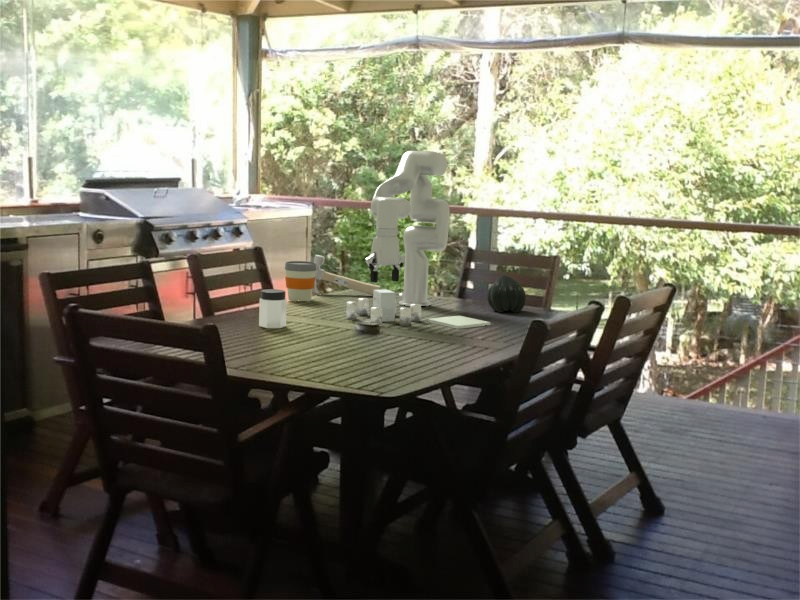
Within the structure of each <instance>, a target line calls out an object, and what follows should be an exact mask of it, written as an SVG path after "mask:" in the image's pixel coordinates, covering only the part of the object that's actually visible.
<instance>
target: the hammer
mask: <svg viewBox="0 0 800 600" xmlns="http://www.w3.org/2000/svg"><path fill="white" fill-rule="evenodd" d="M314 255H315V256H314V258H313V262H314V263H316V271H315V277H316V278H315V284H314V288H313V291H312V292H314V293H315V294H316V295H318V294H320V292H319V290H318V288H317V280H319V281H322V280H323V281H326V282H330V283H334V284H337V285H339V286H342V287H344V288H348V289H350V290H353V291H356V292H360V293H364V294H367V295H369V296H372V297H373V290H381V286H380V285H378V284H372V283H367V282H364V281H360V280H356V279H354V278H349V277H346V276H343V275H338V274H335V273H332V272H328V271H325V269H322V268H321V265H323V264H324V263H325V259H326V258H325V256H324V255H319V254H314Z"/></svg>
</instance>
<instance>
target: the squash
mask: <svg viewBox="0 0 800 600" xmlns="http://www.w3.org/2000/svg"><path fill="white" fill-rule="evenodd" d="M486 294H487V297H486V298H487V302H488V305H489V307H490V308H491V309H492V310H493V311H495V310H496V311H495V312H499V313H504V312H507V311H510V312H512V313H519V312H521V311H522V310H523V308H524V307H525V304H526V301H527V299H526V297H527V295H526V292H525V289H524V287H523V286H522V285H521V283H520V282H519V281H518V280H516V279H514V278H513V277H511V276H509V275H507V274H502V275H500V276H499V277H497V279H496V280H495V281H494V282H493V283H492V284H491V285H490V286H489V288H488V290H487V293H486Z"/></svg>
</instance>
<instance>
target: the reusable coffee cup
mask: <svg viewBox="0 0 800 600" xmlns="http://www.w3.org/2000/svg"><path fill="white" fill-rule="evenodd" d="M284 270H285V288H287V295H288V297H287V298H288V301H290V302H296V301H298V300H299V301H307V302H311V301H312V296H313V292H314V291H313V288H314V284H315V278H316V277H315V271H316V263H314V261H306V260H305V261H304V260H291V261H285V264H284Z"/></svg>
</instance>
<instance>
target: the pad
mask: <svg viewBox="0 0 800 600" xmlns="http://www.w3.org/2000/svg"><path fill="white" fill-rule="evenodd" d="M427 321H428V322H427ZM426 322H427V323H432V324H436V325H441V326H445V327H449V328H453V329H457V330H460V329H467V328H468V329H469V328H476V327H486V326H485V325H487V326H491V321H486V320H482V319H478V318H472V317H467V316H463V315H453V316H452V315H451V316H443V317H442V316H441V317H433V318H431V317H430V318H427V319H426Z"/></svg>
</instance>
